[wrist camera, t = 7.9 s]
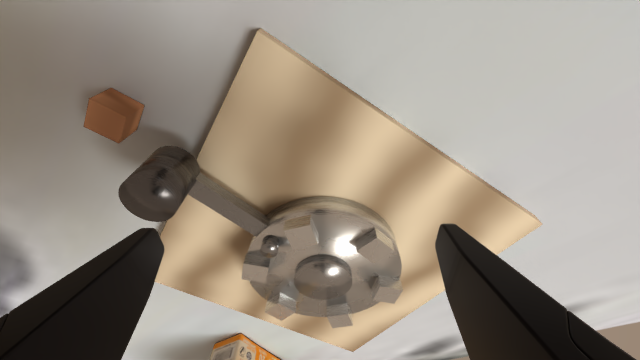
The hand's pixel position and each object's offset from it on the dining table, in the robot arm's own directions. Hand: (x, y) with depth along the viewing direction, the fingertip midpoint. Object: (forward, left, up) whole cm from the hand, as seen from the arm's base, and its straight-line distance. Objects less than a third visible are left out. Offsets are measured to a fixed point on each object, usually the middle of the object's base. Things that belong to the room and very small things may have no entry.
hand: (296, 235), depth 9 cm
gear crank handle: (+3, -9, -10) cm, 14 cm away
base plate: (+4, -10, -11) cm, 15 cm away
